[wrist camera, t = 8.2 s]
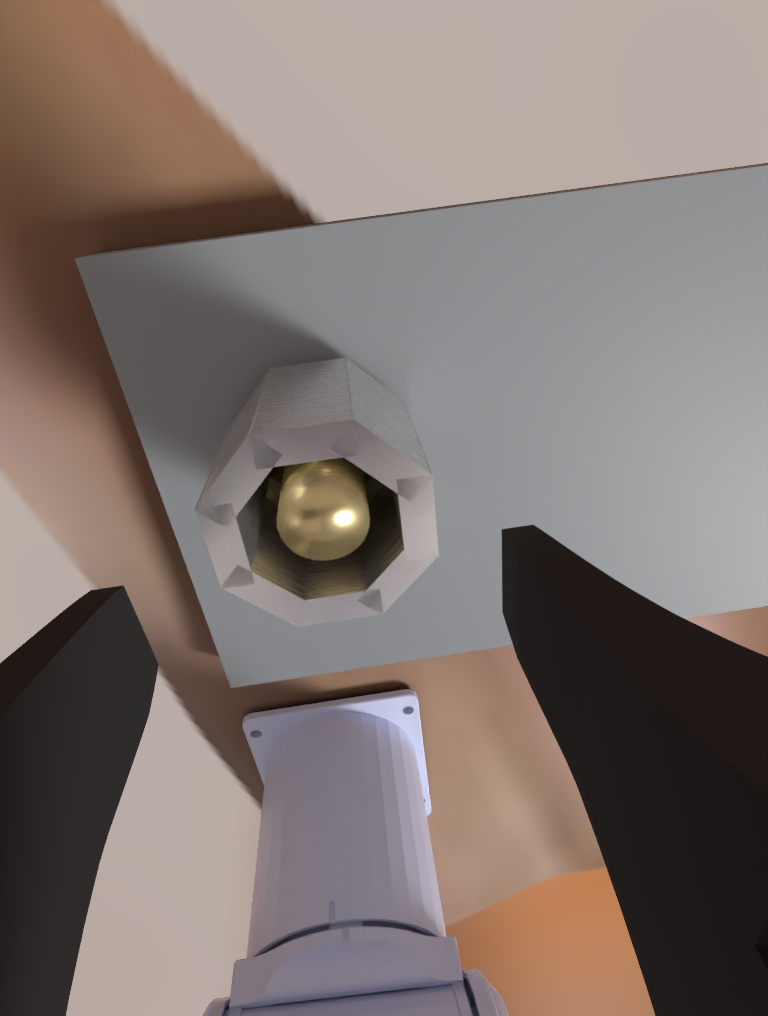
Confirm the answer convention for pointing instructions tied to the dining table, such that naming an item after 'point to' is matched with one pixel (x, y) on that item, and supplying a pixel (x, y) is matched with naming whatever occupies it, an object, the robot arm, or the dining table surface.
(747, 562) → the post board
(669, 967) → the robot arm
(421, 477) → the steel collar
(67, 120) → the dining table surface
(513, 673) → the dining table surface
